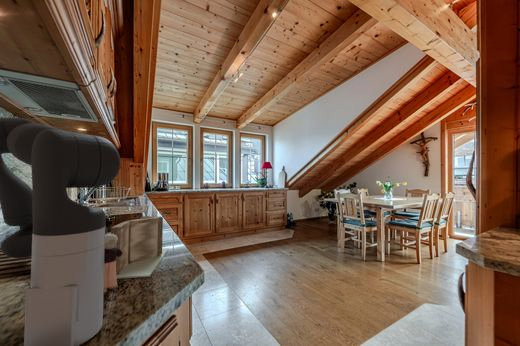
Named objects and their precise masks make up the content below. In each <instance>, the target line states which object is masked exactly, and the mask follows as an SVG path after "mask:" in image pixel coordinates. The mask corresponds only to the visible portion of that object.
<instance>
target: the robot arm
mask: <svg viewBox="0 0 520 346" xmlns="http://www.w3.org/2000/svg"><path fill="white" fill-rule="evenodd" d="M5 154H11V155H12V156H13V157H15V158H16V159H17V160H18V161H21V162H23V163H25V164H26V165H28V166H31V168H30V169H31V182H32V183H31V184H32V186H29V184H27V183H26V182H25V181H24V180H22V178H20V177H18V175H16V174H15V173H14V172H13V171H12V170H11V169H10V168H9V167H8V166H7V164H6V163H5V161H4V159H3V155H5ZM121 162H122V161H121V156H120V153H119V151H118V149H117V147H116V146H115V144H114V143H112V142H111V141H110V140H109V139H107V138H105V137H102V136H99V135H94V134H87V133H80V132H74V131H73V132H72V131H66V130H63V129H60V128H58V127H55V126H52V125H51V126H50V125H47V124H44V123H37V122H35V121H34V120H32V119H29V118H28V119H27V118H24V117H1V116H0V209H1V214H2V219H3V221H4V223H5V224H6V225H7V226H8V227H9V226H10V227H18V228H19V230H17V231H16V232H13V234H11V235H9V236H7V237H6V238H5V239H3V241H2V242H1V243H0V251H1V252H2V254H4V256H7V257H9V258H14V259H25V258H31V263H30V288H29V289H28V290H26V292H25V305H24V306H25V307H24V308H25V310H24V335H23V338H24V339H23V340H24V341H23V346H80V345H83V344H85V342H88V341H89V340H90V339H92V338H93V337H95V335H97V334H98V333H99V331H100V330H101V329H102V327H103V319H104V318H103V317H104V315H103V314H104V293H103V291H104V255H105V235H107V234H111V231H109V229H108V227H107V226H106V220H107V219H106V217H107V215H106V212H105V210H103V209H101V208H98V207H93V206H88V205H84V204H81V203H78V202H77V201H74V200H72V199H71V198H70V197H69V195H68V190H67V189H74V188H76V189H80V188H81V189H83V188H84V189H85V188H97V187H103V186H106V185H108V184H110V183H111V182H113V181H114V180H115V179H116V177H117V176H118V175H119V173H120V170H121Z"/></svg>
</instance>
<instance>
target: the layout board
mask: <svg viewBox="0 0 520 346" xmlns="http://www.w3.org/2000/svg"><path fill="white" fill-rule="evenodd" d="M168 249H169V250H170V248H169V247H167V248H165V247H164V248H163V247H162V254H161V255H155V256H151V257H147V258H143V259H139V260H135V261H131V262H128V265H127V266H126V267H125V268H124V269H123V270H122V271H120V274H118V275H117V276H116V277H117V280H119V279H120V280H121V279H122V280H123V279H131V278H132V279H134V278H136V279H137V278H150V277H151V276H152V274H153V273H154V271H155V270H156V268H157V267H158V265H159V264H160V263H161V261H162V260H163V258H164V257H165V256H166V254H167V253H168V251H169V250H168ZM164 255H165V256H164Z"/></svg>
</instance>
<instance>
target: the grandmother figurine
mask: <svg viewBox="0 0 520 346" xmlns="http://www.w3.org/2000/svg"><path fill="white" fill-rule="evenodd" d="M117 240H118V237H117V236H116V235H114V234H107V235H105V255H104V291H103V294H105V293H107V292H108V290H113V289H116V288H118V282H117V280H118V279H117V277H116V257H119V258H120V260H121V261H122V260H124V256H123V252H122V251H121V250H120V249H118V248H114V247H115V245H116V242H117Z"/></svg>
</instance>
